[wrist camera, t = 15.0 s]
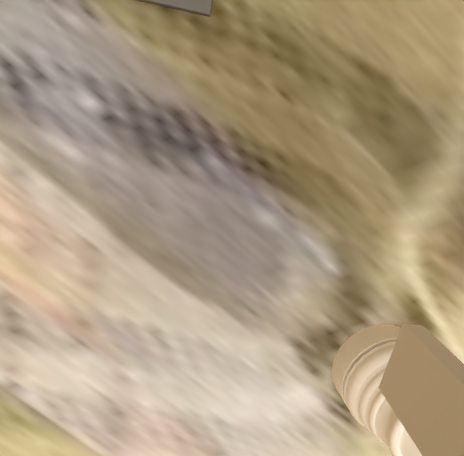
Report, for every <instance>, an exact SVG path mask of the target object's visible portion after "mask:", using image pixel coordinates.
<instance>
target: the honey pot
mask: <svg viewBox="0 0 464 456" xmlns="http://www.w3.org/2000/svg"><path fill="white" fill-rule="evenodd" d="M400 330H401V327H398V326H395V325H389V324H379V325H373V326H369V327H367V328H364V329H362V330H360V331H358V332H357V333H355V334H354V335H352V336H351V337H349V338H348V339H347V340H346V341H345V342H344V343H343V344H342V345H341V347H340V348H339V350H338V352H337V353H336V355H335V357H334V361H333V364H332V379H333V382H334V385H335V387H336V389H337V390H338V392H339V394H340V396H341V397H342V399H343V401H344V402H345V404H346V405H347V407H348V409H349V410H350V413H351V414H352V415H353V417H354V418H355V419H356V420H357V422H358V423H359V424H361V425H362V426H364V427H365V428H367V429H368V431H369V432H371V433H372V434H374V435H375V437H376V438H377V439H378V440H379V441H380V442H382V443H383V444H385V445H387V446H389V447H390V450H391V453H392V454H393V456H422V454H421V453H420V451H419V450H418V448H417V447H416V445H415V443H414V442H413V440H412V439H411V437H410V436H409V434H408V433H407V431H406V430H405V428H404V426H403V425H402V423H401V422H400V420H399V419H398V417H397V416H396V414H395V413H394V411H393V409H392V408H391V406H390V405H389V403H388V402H387V400H386V399H385V397H384V396H383V394H382V393H381V391H380V389H379V388H378V387H379V385H380V382H381V380H382V377H383V374H384V372H385V369H386V367H387V364H388V361H389V359H390V356H391V353H392V351H393V348H394V346H395V343H396V340H397V338H398V335H399V333H400Z"/></svg>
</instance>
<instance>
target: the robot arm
mask: <svg viewBox="0 0 464 456" xmlns="http://www.w3.org/2000/svg"><path fill="white" fill-rule="evenodd" d="M378 388H379V389H380V391H381V393H382V394H383V396H384V397H385V399H386V400H387V402H388V403H389V405H390V406H391V408H392V409H393V411H394V413H395V414H396V416H397V417H398V419H399V420H400V422H401V423H402V425H403V426H404V428H405V430H406V431H407V433H408V434H409V436H410V437H411V439H412V440H413V442H414V443H415V445H416V447H417V448H418V450H419V451H420V453H421V454H422V456H464V364H463V363H462V362H461V361H460V360H459V359H458V358H457V357H456V356H454V355H453V354H452V353H451V352H450V351H449V350H448V349H447V348H446V347H445V346H444V345H443V344H442V343H441V342H440V341H439V340H438V339H437V338H436V337H434V336H433V335H432V334H431V333H430V332H429V331H428V330H427V329H426V328H425V327H424V326H421V325H413V324H404V323H403V325H402V327H401V330H400V333H399V335H398V338H397V340H396V343H395V346H394V348H393V351H392V353H391V356H390V359H389V361H388V364H387V367H386V369H385V372H384V374H383V377H382V380H381V382H380V385H379V387H378Z"/></svg>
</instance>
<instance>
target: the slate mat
mask: <svg viewBox="0 0 464 456" xmlns="http://www.w3.org/2000/svg"><path fill="white" fill-rule="evenodd" d="M139 1H144V2H148V3H153V4H157V5H161V6H166V7H170V8H175V9H179V10H183V11H188V12H192V13H196V14H201V15H205V16H210V12H211V4H212V0H139Z"/></svg>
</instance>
